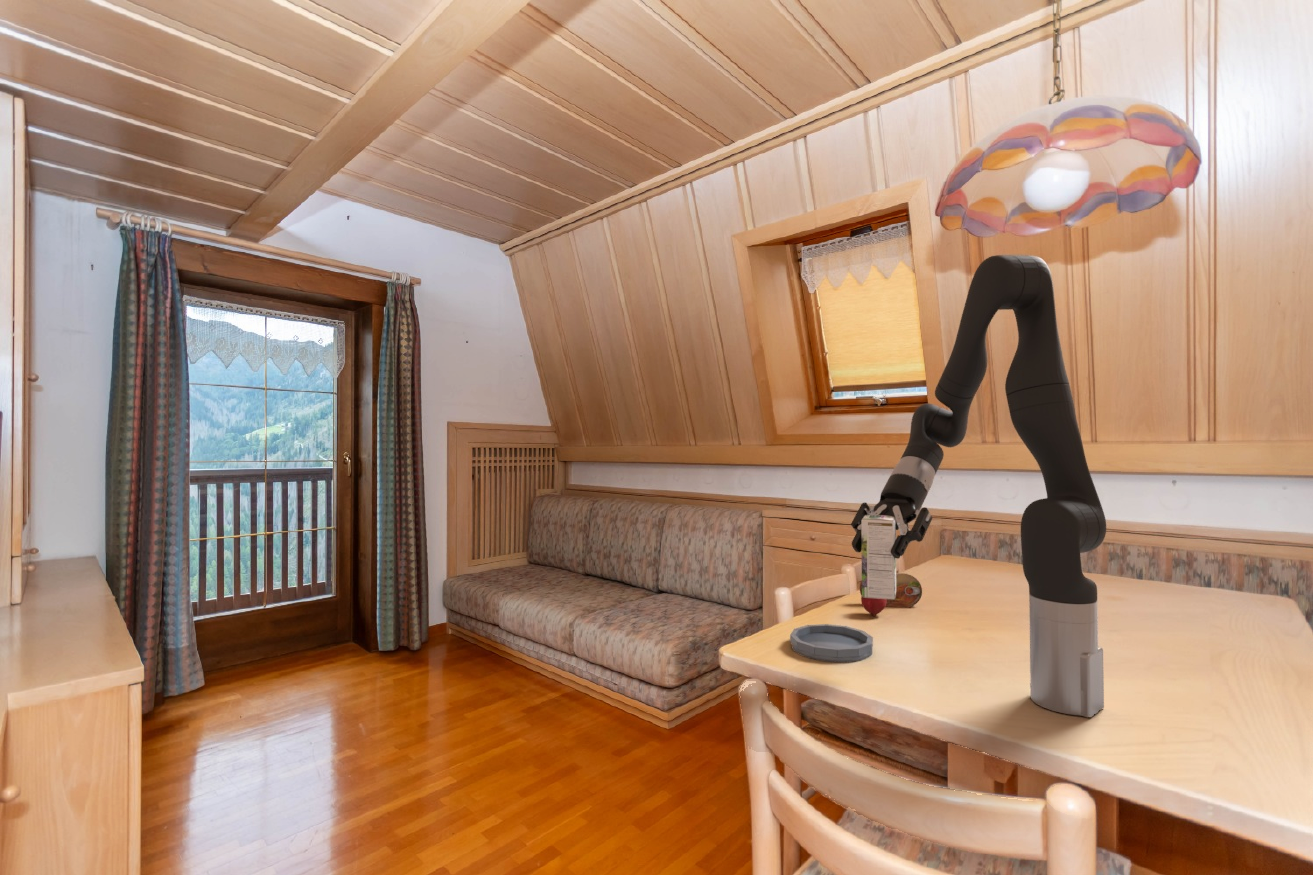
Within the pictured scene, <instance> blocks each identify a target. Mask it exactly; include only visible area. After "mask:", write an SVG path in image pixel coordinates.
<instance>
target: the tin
mask: <svg viewBox="0 0 1313 875" xmlns="http://www.w3.org/2000/svg"><path fill="white" fill-rule="evenodd" d="M859 593H860V596H862V580H861V581H860V583H859ZM922 595H923V588H922V584H921V582H920V581H919V580H918V579H917V578H916V577H915V576H914V575H911V574H908V573H905V572H903V573H902V572H901V573H900V572H899V573H898V572H896V595H895V599H887V603H886V606H885V608H910V607H913V606H915V605H917V603H919V601H920V600H921V598H922Z"/></svg>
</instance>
